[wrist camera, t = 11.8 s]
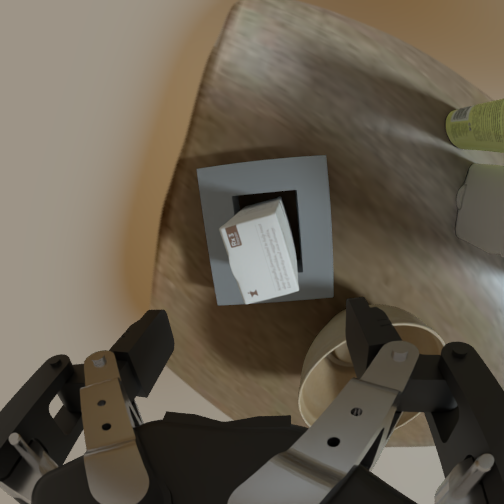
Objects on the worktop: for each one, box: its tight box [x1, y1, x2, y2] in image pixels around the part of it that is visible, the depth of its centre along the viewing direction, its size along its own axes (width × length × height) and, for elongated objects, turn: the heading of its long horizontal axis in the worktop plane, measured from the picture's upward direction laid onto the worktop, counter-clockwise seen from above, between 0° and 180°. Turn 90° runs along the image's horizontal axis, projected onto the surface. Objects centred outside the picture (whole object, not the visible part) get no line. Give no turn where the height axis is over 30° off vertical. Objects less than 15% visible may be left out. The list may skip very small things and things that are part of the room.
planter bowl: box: [298, 305, 445, 430], centre depth 29 cm, size 16×16×11 cm
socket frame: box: [197, 155, 334, 305], centre depth 29 cm, size 12×14×4 cm
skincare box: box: [219, 197, 299, 304], centre depth 25 cm, size 6×4×12 cm
